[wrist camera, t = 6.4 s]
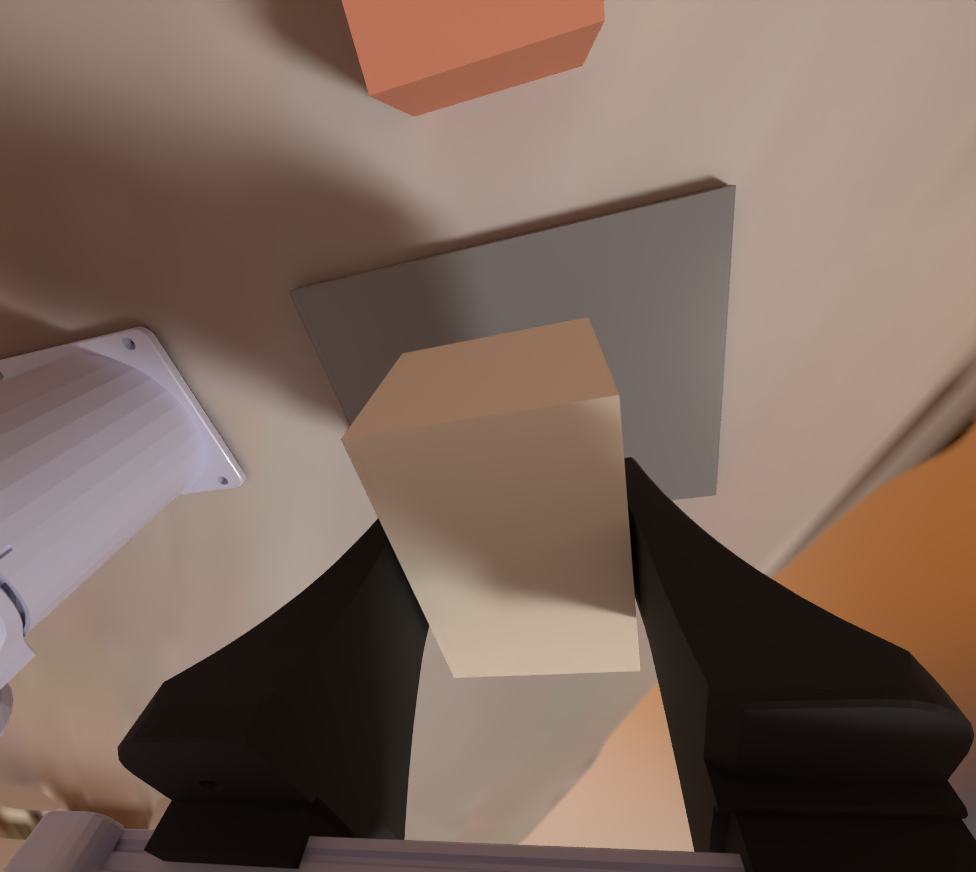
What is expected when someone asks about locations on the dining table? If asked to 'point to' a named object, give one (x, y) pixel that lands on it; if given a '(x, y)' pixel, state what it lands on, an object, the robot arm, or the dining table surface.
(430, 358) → the cream brick
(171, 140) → the dining table surface
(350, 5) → the red brick
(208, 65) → the dining table surface
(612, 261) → the base plate
